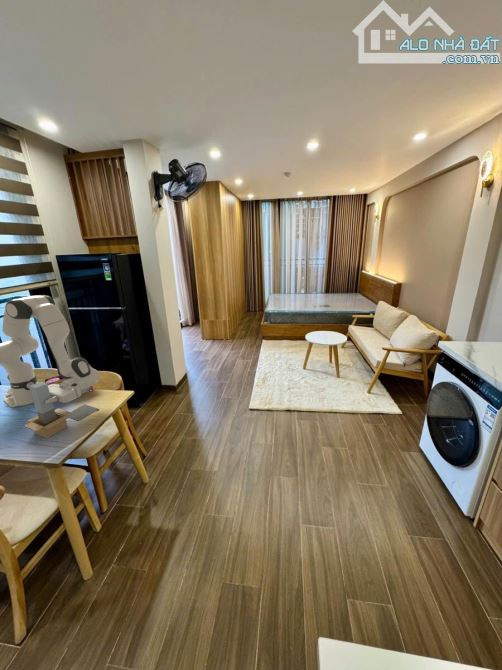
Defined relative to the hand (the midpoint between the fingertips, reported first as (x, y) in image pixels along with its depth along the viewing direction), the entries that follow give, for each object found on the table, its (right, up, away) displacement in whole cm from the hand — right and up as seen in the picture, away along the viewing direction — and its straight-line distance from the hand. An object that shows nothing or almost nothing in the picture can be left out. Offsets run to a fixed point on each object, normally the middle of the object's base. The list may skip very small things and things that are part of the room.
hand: (40, 400), depth 125 cm
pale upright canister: (0, -11, +4) cm, 12 cm away
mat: (+7, -12, +20) cm, 24 cm away
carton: (+1, -17, +6) cm, 18 cm away
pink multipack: (-12, -6, +39) cm, 42 cm away
